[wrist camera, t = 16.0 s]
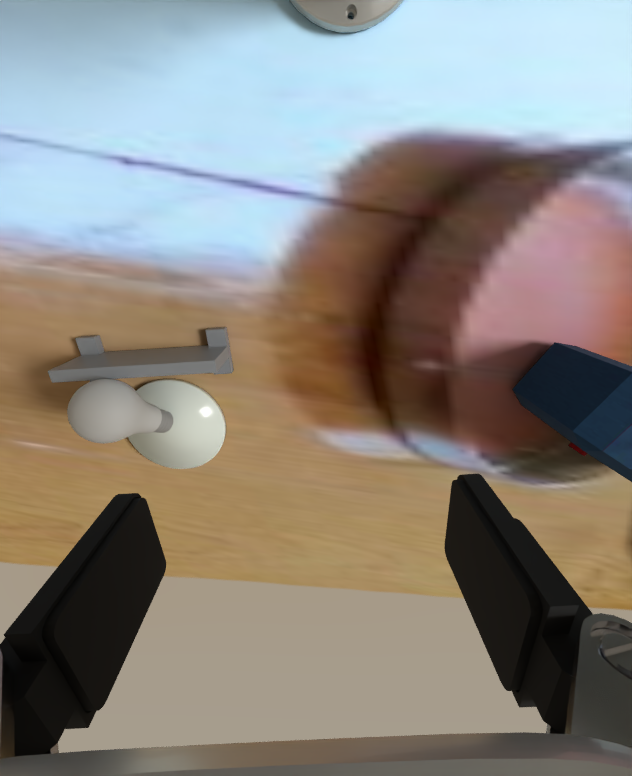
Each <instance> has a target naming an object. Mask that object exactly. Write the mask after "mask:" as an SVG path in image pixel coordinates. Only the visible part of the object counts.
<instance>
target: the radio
mask: <svg viewBox="0 0 632 776" xmlns="http://www.w3.org/2000/svg"><path fill="white" fill-rule="evenodd" d="M513 391H514V393H515V395H516V396H517V398H518V400H519V402H520V403H521V405H522V406H523V407H525V408H526V409H527V410H529V411H530V412H531V413H533V414H534V415H536V416H537V417H538V418H540V419H541V420H542V421H544V422H545V423H546V424H548V425H549V426H550V427H552V428H553V429H554V430H556V431H557V432H559V433H560V434H561V435H563V436H564V437H565V438H567V439H568V440H569V441H571V443H570V444H569V446H570V447H571V448H573V449H574V450H576V451H577V452H579V453H580V454H582V455H583V456H585V455H587V454H589V455H591V456H592V457H594V458H595V459H597V460H598V461H600V462H602V463H603V464H605V465H606V466H608V467H609V468H611V469H612V470H614V471H616V472H617V473H619V474H620V475H622V476H623V477H625V478H626V479H628V480H630V481H631V482H632V366H629V365H626V364H623V363H621V362H618V361H615V360H612V359H610V358H607V357H604V356H601V355H599V354H596V353H593V352H591V351H588V350H585V349H582V348H580V347H577V346H572V345H566V344H561V343H554V344H553V345H552V346H551V347H550V348H549V349H548V350H547V352H546V353H545V354H544V355H543V356H542V357H541V358H540V359H539V360H538V362H537V363H536V364H535V365H534V366H533V367H532V368H531V369H530V370H529V372H528V373H527V374H526V375H525V376H524V377H523V378H522V379H521V380H520V381H519V383H518V384H517V385H516V386H515V387H514V388H513Z"/></svg>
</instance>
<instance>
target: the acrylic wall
mask: <svg viewBox="0 0 632 776" xmlns="http://www.w3.org/2000/svg"><path fill="white" fill-rule="evenodd" d="M206 336H207V341H208V345H205V346H189V347H173V348H157V349H141V350H125V351H109V352H105V351H104V348H103V345H102V342H101V339H100V336H99V335H93V336H81V337H78V338H75V339H76V342H77V345H78V348H79V351H80V354H81V356H79V357H77V358H75V359H72V360H70V361H68V362H66V363H64V364H62V365H59V366H57V367H55V368H53V369H51V370H48V373H49V376H50V378H51V381H52V383H54V382H70V381H86V380H90V382H92V381H95V380H99V379H118V378H135V377H151V376H167V375H183V374H200V373H214V374H227V373H232V372H233V364H232V358H231V352H230V346H229V340H228V334H227V328H226V327H219V328H208V329H206Z"/></svg>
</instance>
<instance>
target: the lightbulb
mask: <svg viewBox="0 0 632 776" xmlns="http://www.w3.org/2000/svg"><path fill="white" fill-rule="evenodd" d="M67 414H68V420H69V423H70V425H71V426H72V428H73V430H74V431H75V432H76V433H77V434H78V435H79V436H81V437H83V438H84V439H86V440H88V441H91V442H95V443H112V442H116V441H119V440H122V439H124V438H127V437H129V436H131V435H133V434H137V433H152V432H156V433H165V432H167V431H169V430H170V429H171V427H172V425H173V416H172V414H171V413H170V412H168V411H165V410H162V409H159V408H158V407H157V406H155V405H152V404H150V403H148V402H146V401H144V400H143V399H142V398H141V396H140V395H139V394H138V393H137V392H136V391H135V390H134V389H133V388H132V387H131V386H130V385H128V384H126V383H124V382H122V381H119V380H115V379H99V380H95V381H92V382H89V383H87V384H85V385H83V386H82V387H80V388H79V389H78V390H77V391H76V392H75V393H74V395H73V396H72V398H71V399H70V402H69V405H68V409H67Z"/></svg>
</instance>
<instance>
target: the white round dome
mask: <svg viewBox="0 0 632 776" xmlns="http://www.w3.org/2000/svg"><path fill="white" fill-rule="evenodd" d="M136 392H137V393H138V394H139V395H140V396H141V398H142V399H143V400H144V401H146V402H148V403H150V404H152V405H155V406H157V407H158V408H159V409H162V410H165V411H168V412H170V413H171V414H172V416H173V425H172V427H171V429H170V430H169V431H167V432H165V433H156V432H152V433H137V434H133V435H131V436H129V437H128V438H129V440H130V442H131V443H132V445H133V446H134V447H135V448H136V449H137V450H138V451H139V452H140V453H141V454H142V455H143V456H145V457H146V458H147V459H149V460H151V461H153V462H154V463H157V464H159V465H162V466H165V467H169V468H175V469H188V468H194V467H198V466H200V465H203V464H205V463H207V462H208V461H210V460H211V459H212V458H213V457H214V456H215V455H216V454H217V453H218V452H219V450H220V448H221V446H222V444H223V442H224V439H225V435H226V421H225V417H224V414H223V412H222V410H221V408H220V406H219V404H218V403H217V402H216V401H215V399H214V398H213V397H212V396H211V395H210V394H209V393H207V392H206V391H205V390H203V389H202V388H200V387H199V386H197V385H195V384H193V383H190V382H187V381H184V380H180V379H158V380H155V381H151V382H149V383H147V384H145V385H143V386H142V387H140V388H139V389H138V390H137V391H136Z"/></svg>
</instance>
